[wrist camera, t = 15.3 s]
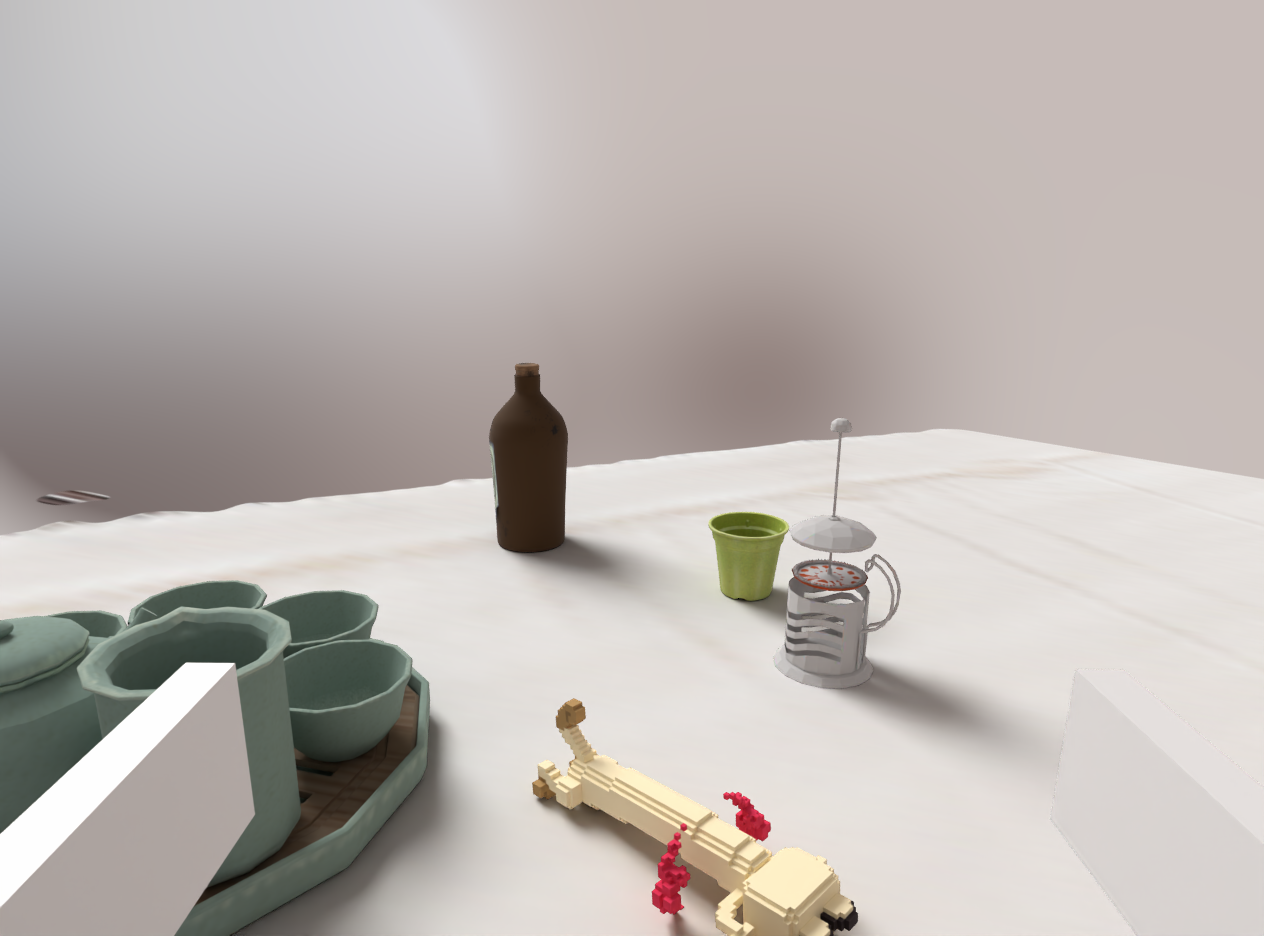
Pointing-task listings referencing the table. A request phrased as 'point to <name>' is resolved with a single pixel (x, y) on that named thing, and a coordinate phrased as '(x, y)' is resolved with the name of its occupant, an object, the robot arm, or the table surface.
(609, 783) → the cat figure
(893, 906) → the table surface
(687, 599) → the table surface
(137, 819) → the robot arm
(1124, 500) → the table surface
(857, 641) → the french press
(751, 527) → the plant pot
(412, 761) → the tea set
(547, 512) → the olive oil
